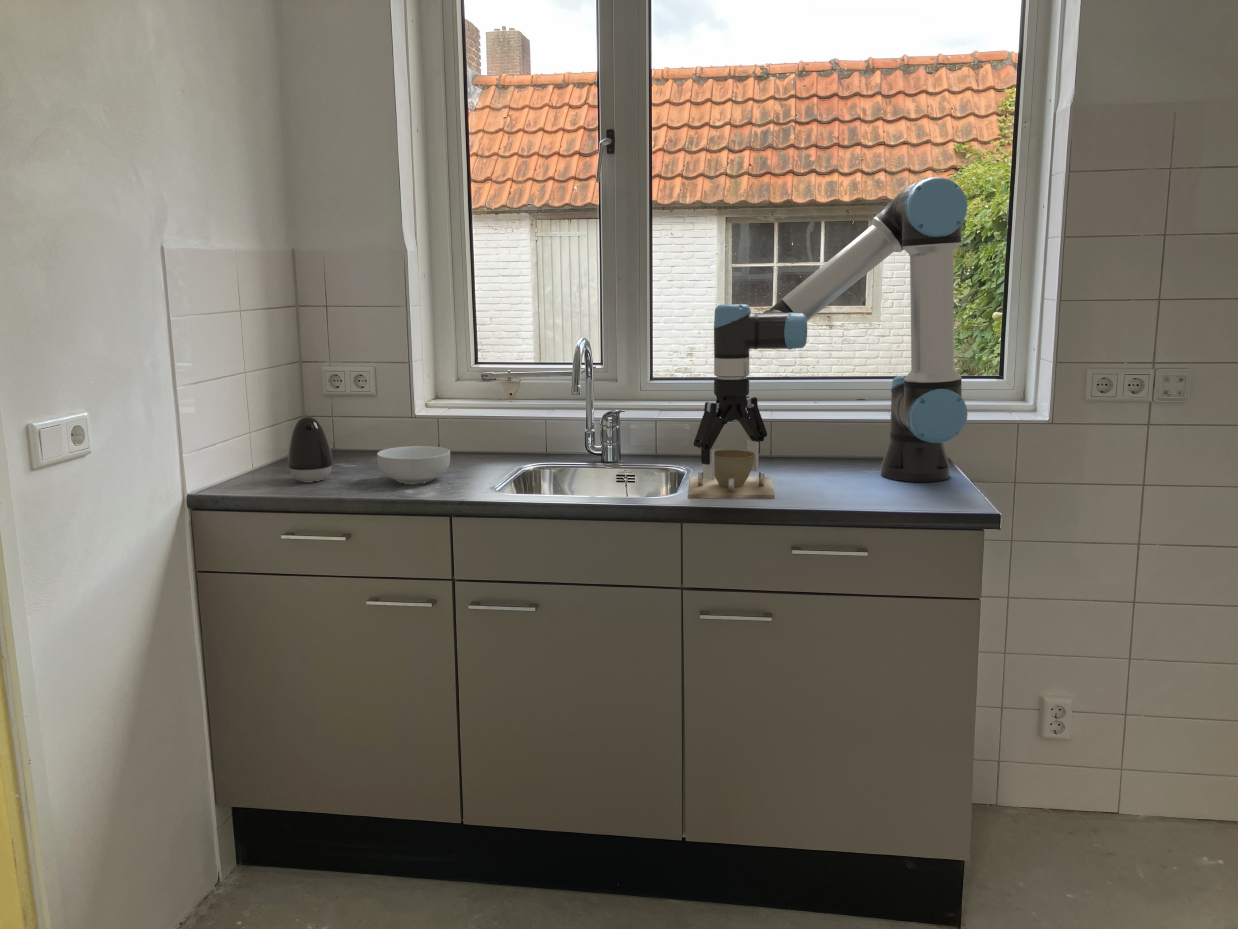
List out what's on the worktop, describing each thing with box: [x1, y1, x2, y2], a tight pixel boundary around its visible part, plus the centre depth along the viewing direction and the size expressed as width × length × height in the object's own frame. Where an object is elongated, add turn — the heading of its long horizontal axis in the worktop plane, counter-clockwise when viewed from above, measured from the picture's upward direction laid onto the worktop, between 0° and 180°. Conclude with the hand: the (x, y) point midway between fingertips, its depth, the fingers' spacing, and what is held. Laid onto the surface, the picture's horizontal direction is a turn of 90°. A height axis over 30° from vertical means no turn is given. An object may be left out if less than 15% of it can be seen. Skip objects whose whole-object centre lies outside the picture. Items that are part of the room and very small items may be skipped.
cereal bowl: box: [376, 445, 451, 484], centre depth 233 cm, size 17×17×7 cm
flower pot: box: [714, 448, 755, 488], centre depth 219 cm, size 10×10×7 cm
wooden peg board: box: [687, 470, 776, 500], centre depth 219 cm, size 18×18×4 cm
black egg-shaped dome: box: [287, 416, 334, 482], centre depth 235 cm, size 10×10×15 cm
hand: (731, 474), depth 219 cm, fingers open, 13 cm apart
